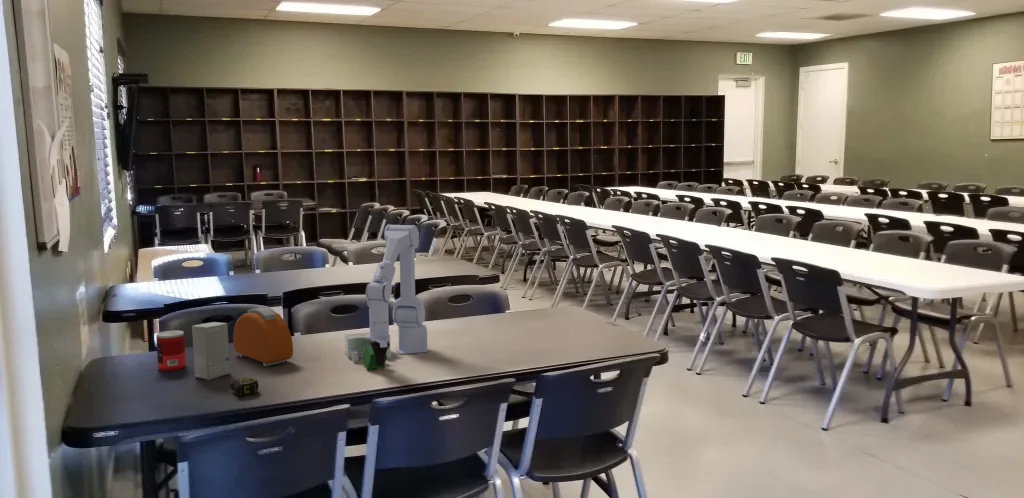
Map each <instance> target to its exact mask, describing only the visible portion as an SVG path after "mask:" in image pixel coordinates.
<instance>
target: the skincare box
mask: <svg viewBox="0 0 1024 498" xmlns="http://www.w3.org/2000/svg"><path fill="white" fill-rule="evenodd" d="M228 327H229V326H228V323H227V322H217V321H211V322H205V323H201V324H195V325H192V326H191V333H192V334H191V335H192V348H193V349H192V351H193V352H192V353H193V369H194V377H195V378H198V379H202V380H203V379H204V380H208V381H210V379H211V380H213V379H217V378H221V377H222V376H226V375H229V374H230V373H231V370H230V369H231V367H230V351H229V350H230V349H229V348H230V347H229V332H228Z"/></svg>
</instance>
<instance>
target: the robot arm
mask: <svg viewBox="0 0 1024 498" xmlns="http://www.w3.org/2000/svg"><path fill="white" fill-rule="evenodd" d="M419 235H420V233H419V230H418V227H417V226H416V225H414V224H412V225H411V224H410V225H408V224H407V225H406V224H390V223H388V224H387V225H386V226H385V228H384V234H383V236H384V241H385V246H386V247H385V251H384V255H383V259H382V261H381V262H379V263H378V264H377V266H376V269H375V272H374V274H373V278H372V281H371V282H370V283H367V285H366V288H365V295H364V296H365V298H366V305H367V307H368V308H369V309H368V313H369V314H368V315H369V316H368V318H369V332H370V335H369V336H366V339H371V340H373V341H372V342H369V343H370V345H371V347H372V350H373V353H374V357H375V362H376V365H377V366H380V365H384V362H385V363H386V361H385V356H386V352H387V350H388V348H389V346H390V347H391V342H390V343H389V341H388V339H389V338H390V339H391V335H390V329H389V328H390V325H389V324H390V323H389V322H390V320H389V319H390V318H389V301H390V299H391V298H392V288H393V284H392V282H393V280H394V276H395V273H396V267H395V263H396V261H397V259H398V256H399V280H400V281H399V283H400V289H399V290H400V296H399V298H398V299H396V300H395V301H394V303H393V310H392V320H393V322H394V323H395V324H396V326H397V328H398V330H397V331H398V346H397V347H395V349H396V351H397V352H398V353H399V354H400V355H407V354H408V355H409V354H418V353H428V352H429V351H428V329H427V326H426V324H425V323H424V322H425V318H426V310H425V305H424V304H425V303H424V301H423V300H422V299H420V298H419V297H417V296H416V275H415V274H416V272H415V271H416V269H415V250H416V249H417V248H419V244H420V242H419V240H420V236H419ZM384 366H385V365H384Z"/></svg>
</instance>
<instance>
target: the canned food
mask: <svg viewBox="0 0 1024 498" xmlns="http://www.w3.org/2000/svg"><path fill="white" fill-rule="evenodd" d="M155 338H156V341H155V342H156V354H157V355H156V357H157V368H158V370H159V371H162V372H172V371H177V370H180V369H181V370H182V369H183V368H185V367H186V364H187V363H186V345H185V343H186V342H185V333H184V330H174V329H173V330H165V331H160V332H158V333H156V335H155Z"/></svg>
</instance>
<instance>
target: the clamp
mask: <svg viewBox="0 0 1024 498" xmlns="http://www.w3.org/2000/svg"><path fill="white" fill-rule="evenodd" d="M387 358H388V356H387V355H386V356H385V362H384V365H380V366H377V365H376V362H375V357H374V353H373V350H372V347H367V346H365V350H364V354H363V357H362V359H361V360H362V362H361V363H362V365H363V366H364V368H365V369H366V370H367V371H374V369H375V368H380V369H384V368H385V365H386V362H387V361H388V360H387Z"/></svg>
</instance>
